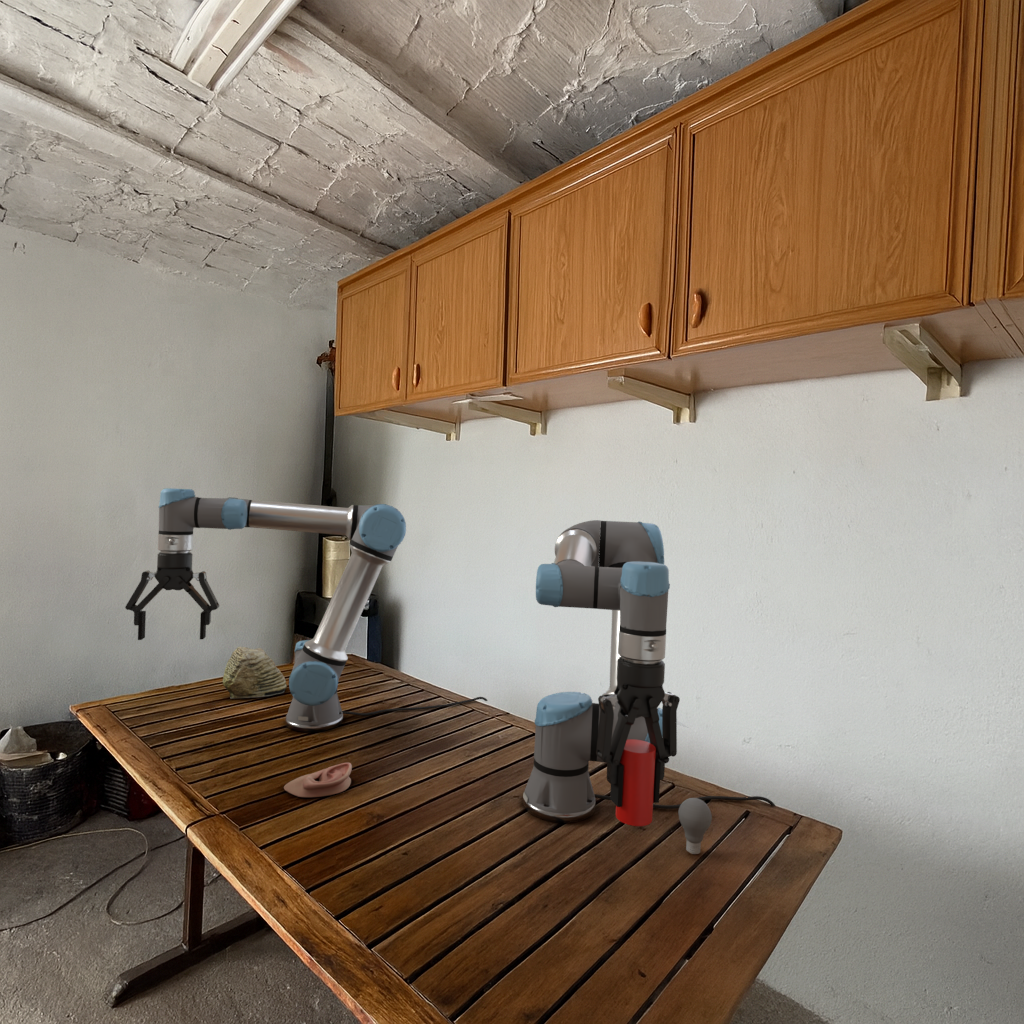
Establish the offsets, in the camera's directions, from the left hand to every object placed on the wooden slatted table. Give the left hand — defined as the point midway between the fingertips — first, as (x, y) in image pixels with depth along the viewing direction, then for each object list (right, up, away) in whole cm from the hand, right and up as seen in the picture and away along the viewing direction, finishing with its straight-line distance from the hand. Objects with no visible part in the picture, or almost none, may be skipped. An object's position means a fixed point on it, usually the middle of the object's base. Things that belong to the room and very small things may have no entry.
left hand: (172, 638), depth 155 cm
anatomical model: (+41, -29, -16) cm, 53 cm away
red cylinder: (+103, -18, -52) cm, 117 cm away
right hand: (+103, -16, -52) cm, 116 cm away
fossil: (+2, -26, +43) cm, 51 cm away
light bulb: (+117, -33, -36) cm, 127 cm away
